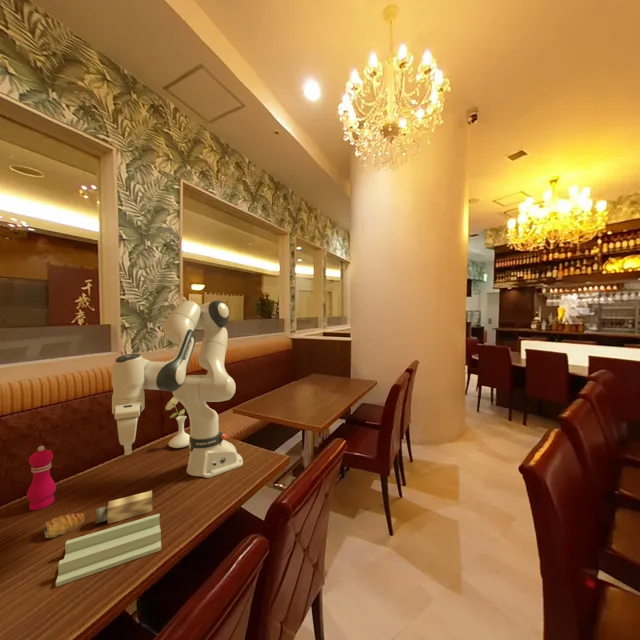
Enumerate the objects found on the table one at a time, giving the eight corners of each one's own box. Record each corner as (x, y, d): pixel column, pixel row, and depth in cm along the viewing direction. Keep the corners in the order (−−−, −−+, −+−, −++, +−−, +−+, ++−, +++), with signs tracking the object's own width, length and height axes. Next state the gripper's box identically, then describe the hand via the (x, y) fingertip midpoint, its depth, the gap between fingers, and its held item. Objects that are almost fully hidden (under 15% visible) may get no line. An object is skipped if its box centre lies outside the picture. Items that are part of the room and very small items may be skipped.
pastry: (81, 515, 96) (81, 504, 96) (87, 525, 92) (87, 513, 92) (42, 532, 89) (42, 519, 89) (46, 543, 85) (46, 529, 85)
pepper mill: (39, 498, 105) (38, 441, 105) (61, 497, 106) (60, 441, 105) (20, 512, 98) (19, 451, 97) (44, 510, 98) (43, 450, 98)
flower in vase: (185, 438, 156) (185, 390, 156) (198, 443, 150) (198, 394, 149) (160, 447, 146) (160, 396, 145) (173, 453, 139) (172, 400, 139)
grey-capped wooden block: (152, 505, 102) (152, 490, 101) (152, 511, 98) (152, 496, 98) (97, 520, 94) (97, 504, 94) (95, 528, 91) (95, 511, 90)
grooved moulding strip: (159, 520, 94) (159, 508, 94) (161, 550, 82) (161, 537, 82) (68, 547, 83) (68, 534, 83) (55, 587, 71) (55, 572, 71)
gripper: (119, 399, 104) (119, 439, 104) (113, 415, 86) (114, 463, 86) (140, 396, 107) (140, 435, 107) (139, 412, 89) (139, 458, 89)
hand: (128, 448), depth 96 cm, fingers open, 8 cm apart
